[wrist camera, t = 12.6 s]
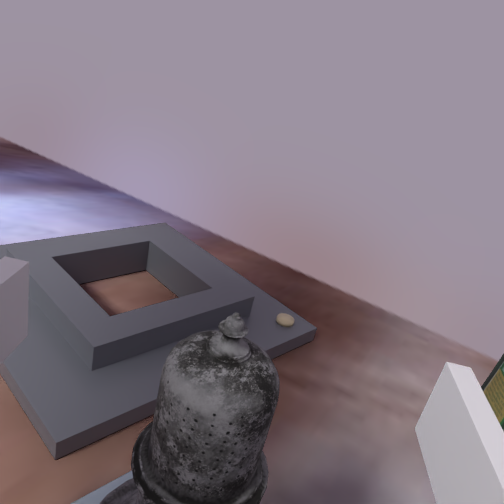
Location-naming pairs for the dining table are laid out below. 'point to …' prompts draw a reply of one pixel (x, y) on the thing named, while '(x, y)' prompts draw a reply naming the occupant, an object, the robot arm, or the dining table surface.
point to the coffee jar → (496, 391)
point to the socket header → (122, 328)
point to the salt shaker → (206, 424)
